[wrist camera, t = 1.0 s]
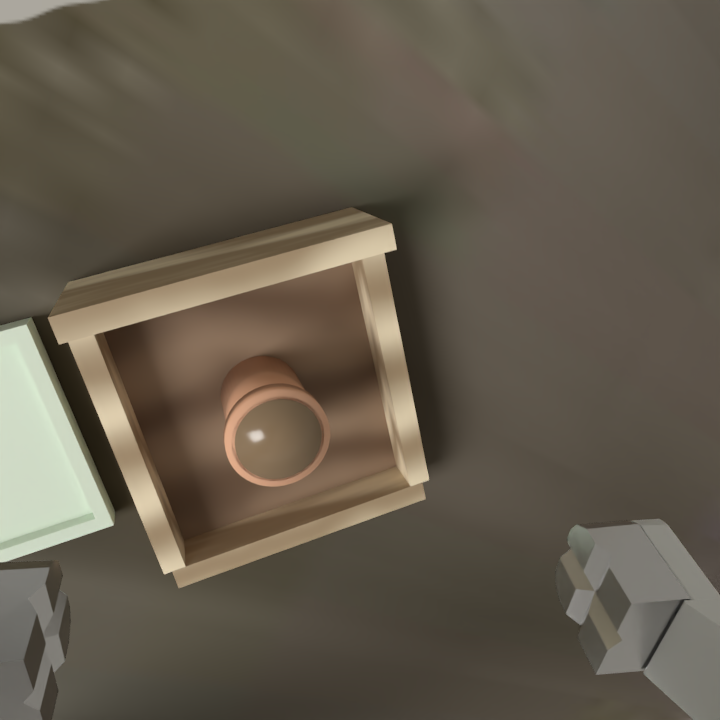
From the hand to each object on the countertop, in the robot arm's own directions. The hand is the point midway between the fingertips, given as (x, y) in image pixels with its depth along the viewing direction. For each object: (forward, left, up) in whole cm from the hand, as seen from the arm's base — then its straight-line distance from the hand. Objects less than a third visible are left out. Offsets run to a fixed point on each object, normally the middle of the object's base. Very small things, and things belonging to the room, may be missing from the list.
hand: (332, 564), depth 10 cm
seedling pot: (-13, -1, -37) cm, 39 cm away
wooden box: (-13, -1, -38) cm, 40 cm away
